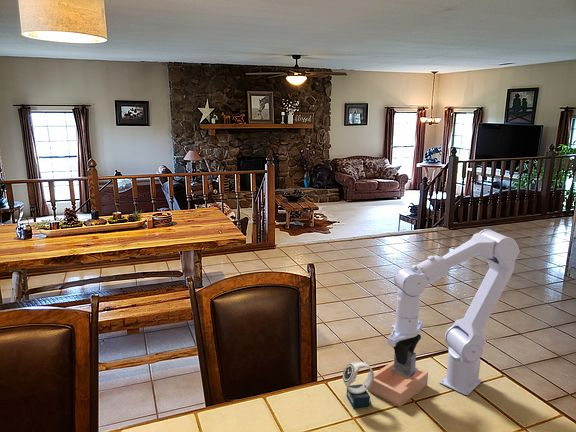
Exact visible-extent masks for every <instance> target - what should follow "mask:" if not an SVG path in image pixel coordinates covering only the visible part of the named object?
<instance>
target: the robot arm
mask: <svg viewBox="0 0 576 432" xmlns="http://www.w3.org/2000/svg"><path fill="white" fill-rule="evenodd" d="M520 253H521V250H520V247H519V246H518V243H517V241H516V240H515V239H514V238H512V237H509V236H506V235H503V234H501V233H499V232H496V231H494V230H493V229H489V228H485V229H482V230H480V231H479V232H476V233H474V234H473V235H472V236H471V238H470V239H469V240H467V241H466V242H464V243H462V244H460V245H459V246H457V247H455V248H454V249H452V250H451V251H449V252H448V253H446V254H444V255H442V256H440V255H429V256H427V259H426V260H423V261H421V262H419V263H417V264H413V265H411V267H404V268H401V269H400V270H399V271H398V272H397V273H396V274H395V277H393V283H394V284H395V286H396V289H397V290H396V291H397V294H396V308H395V320H394V321H395V323H392V325H391V329H393V330H392V332H391V333H390V335H389V336H387V343H386V345H388V346H390V347H392V348H393V350H394V354H395V355H396V359H397V362H398V363H400V364H402V365H404V364H405V363H406V359H407V353H408V350H409V351H411V352H414V351H415V350H416V347H417V345H418V343H419V341H420V340H421V339H422V335H421V334H419V333H420V332H419V331H420V330H422V329H423V328H424V322H423V321H421V320H419V312H420V299H421V294H423V292H424V291H425V288H427V287H428V286H429V285H430V284H432V283H433V282H436V281H437V280H440V279H442V278H443V277H446V276H447V275H448V274H449V270H450V268H451V269H452V268H454V267H455V266H458V265H460V264H463V263H465V262H466V261H468V260H470V259H473V258H475V257H480V258H485V260H486V261H487V264H488V267H489V268H488V270H487V272H486V274H485V276H484V278H483V279H482V282H481V284H480V285H479V287H478V290H476V293H475V295H474V297H473V298H472V301H471V302H470V305H469V307H468V308H467V309H466V312H465V314H464V316H463V317H462V318H459V319H455V321H454V323H453V324H452V325H451V326H450V327H449V328H448V329H447V330H446V331H445V333H444V341H445V343H446V344H447V345H448V348H447V349H448V354H447V355H448V356H447V366H446V376H445V377H444V378H443V379H441V380H440V382H439V383H440V385H443V386H445V387H446V388H447V387H448V388H449V389H451V390H454V391H456V392H458V393H460V394H461V395H465V396H468V395H470V394H471V393H472V392H473V391H474V390H475V389H476V388H477V387H478V386H479V385H480V384H481V383H482V382H483V380H482V379H481V378H480V377H479V376H480V368H481V367H480V366H481V357H482V355H483V352H484V346H485V343H486V342H487V338H486V335H485V331H484V327H486V324H487V322H488V321H489V319H490V317H491V315H492V312H493V311H494V309H495V306H496V305H497V304H498V301H499V300H500V298H501V296H502V295H503V292H504V290H505V288H506V286H507V285H508V282H509V280H510V278H511V277H512V275H513V272H514V271H515V265H516V260H517V258H518V255H519V254H520ZM414 353H415V352H414Z"/></svg>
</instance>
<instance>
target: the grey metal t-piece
mask: <svg viewBox="0 0 576 432" xmlns="http://www.w3.org/2000/svg"><path fill="white" fill-rule="evenodd" d="M393 359H394V360H393V361H394V367H393V368H392V369H391V372H392V373H394V374H396V375H399V376H401V377H403V378H405V379H409V378H410V377H412V376H413V375H414V374H415V373H417V370H418V369H417V368H418V367H417V368H415V367H416V362H417V361H416V360H417V353H416V352H411V351H409V350H408V353H407V359H406V363H405V364H404V365H402V364H400V363H398V362H397V359H396V355H395V353H394V357H393Z"/></svg>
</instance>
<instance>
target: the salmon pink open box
mask: <svg viewBox="0 0 576 432" xmlns="http://www.w3.org/2000/svg"><path fill="white" fill-rule="evenodd" d="M393 367H394V360H392V361H391V362H389V363H388V364H386V365H385V366H384V367H382V368H381V369H379V370H377V371H376V372H375V373H374V380H373V383H372V385H371V386H370V388H369V389H368V390H367V392H369V393H371V394H372V395H375V396H377V397H379V398H381V399H382V400H384V401H387V402H388V403H390V404H392V405H394V406H396V407H398V408H401V407H402V406H403V405H405V404H406V403H408V402H409V401H410V400H411V399H412V398H414V397H415V396H416V395H417V394H418V393H419V392H421V391H423V390H424V388H425V387H427V386H428V380H429V371H427V370H423V369H422V368H420V367H417V366H415V368H417V369H418V370H417V373H415V374H414V375H413V376H412V377H410V378H409V379H405V378H403V377H401V376H399V375H396V374H394V373H392V372H391V369H392V368H393Z"/></svg>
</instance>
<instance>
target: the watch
mask: <svg viewBox="0 0 576 432" xmlns="http://www.w3.org/2000/svg"><path fill="white" fill-rule="evenodd" d="M361 368H367V369H368V370H369V371H368V375H367V377H366V379H365V380H364V382H363V384H362V383H359V384H353V383H354V382H355V381H356V379H357V376H358V372H359V371H360V369H361ZM374 374H375V373H374V371H373V369H372V367H371V366H370V364H369V363H367V362H365V361H354V362H351V363H348V364H347V365H346V366H345V367H344V370H343V372H342V381H343V383H344V385H345V387H346V398H347V400H348V402H349V404H350V406H351V408H352V409H353V410H358V409H365V408H366V409H367V408H370V404H371V403H370V402H371V395H370V394H369V393H368V389H369V388H370V386H371V385H372V383H373V380H374Z"/></svg>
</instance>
